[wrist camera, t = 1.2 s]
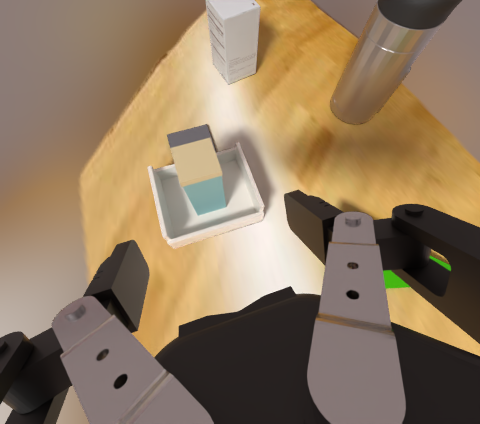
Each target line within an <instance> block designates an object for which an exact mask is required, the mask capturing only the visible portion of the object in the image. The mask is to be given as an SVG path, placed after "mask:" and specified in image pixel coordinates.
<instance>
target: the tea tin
mask: <svg viewBox="0 0 480 424" xmlns="http://www.w3.org/2000/svg"><path fill="white" fill-rule="evenodd" d="M170 149H171V152H172V156H173V160H174V164H175V167H176V171H177V175H178V179H179V182H180V185H181V187H183V188H184V190H185V192H186V194H187V196H188V198H189V200H190V202H191V204H192V206H193V208H194V209H195V211H196V213H197V215H198V216H199V215H202V214H205V213H209V212H212V211H215V210H219V209H222V208H225V207H226V202H225V195H224V188H223V181H222V170H221V167H220V164H219V161H218V158H217V155H216V152H215V150H214V147H213V144H212V141H211V138H207V139H203V140H199V141H195V142H191V143H188V144H184V145H180V146H176V147H173V148H170Z"/></svg>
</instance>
